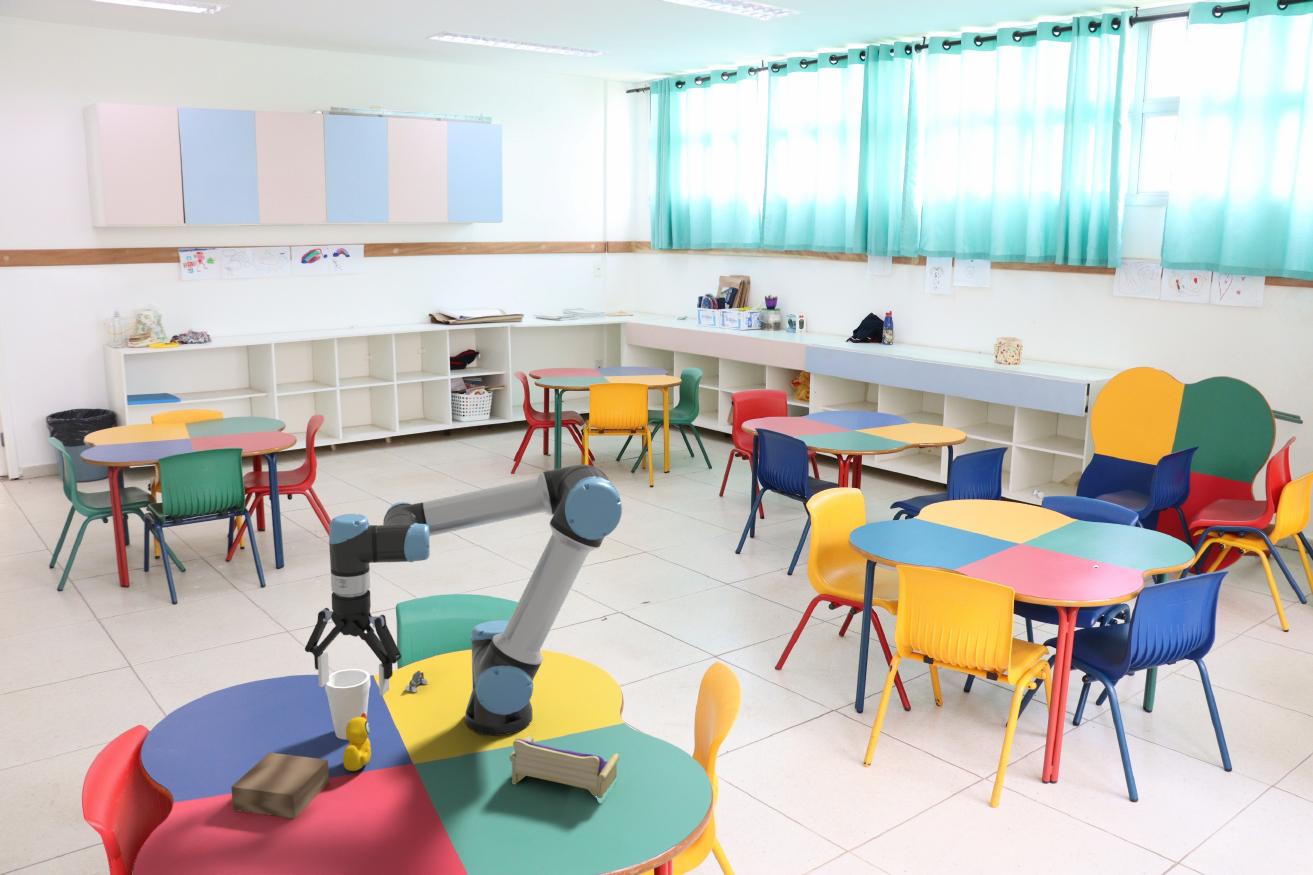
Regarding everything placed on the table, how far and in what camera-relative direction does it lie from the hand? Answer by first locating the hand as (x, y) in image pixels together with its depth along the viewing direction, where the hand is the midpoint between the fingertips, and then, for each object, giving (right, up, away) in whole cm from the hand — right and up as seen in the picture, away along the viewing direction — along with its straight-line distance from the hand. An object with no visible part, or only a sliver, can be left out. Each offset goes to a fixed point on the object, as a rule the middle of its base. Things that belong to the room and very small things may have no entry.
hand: (354, 688), depth 211 cm
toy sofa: (+44, -19, -2) cm, 48 cm away
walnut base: (-12, -19, -9) cm, 24 cm away
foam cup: (-6, -14, +16) cm, 22 cm away
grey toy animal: (+6, -9, +42) cm, 43 cm away
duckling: (0, -17, +3) cm, 17 cm away
